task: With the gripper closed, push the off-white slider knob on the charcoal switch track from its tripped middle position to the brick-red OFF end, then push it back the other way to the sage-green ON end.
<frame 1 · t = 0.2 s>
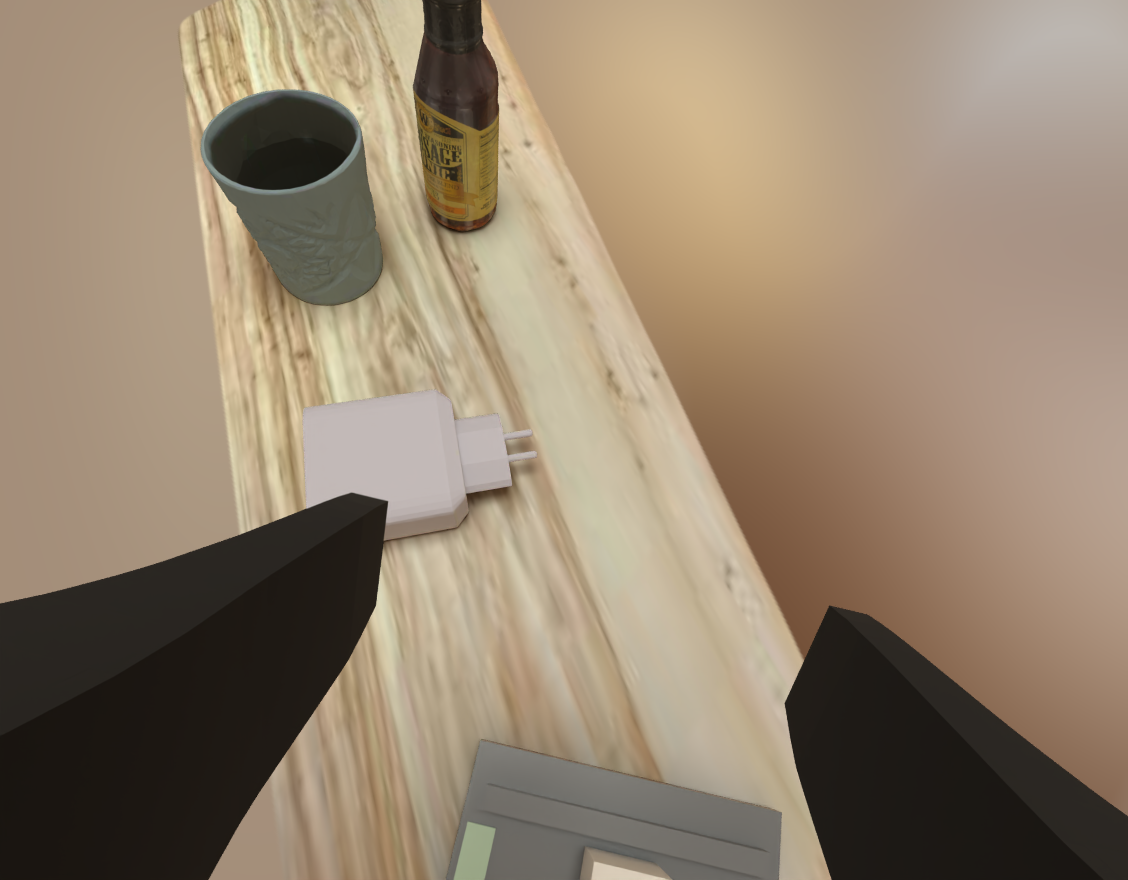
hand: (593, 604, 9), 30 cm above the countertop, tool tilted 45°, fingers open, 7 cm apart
grey cup: (331, 264, 49), on the countertop
sauce bottle: (464, 212, 53), on the countertop
charger: (432, 474, 43), on the countertop
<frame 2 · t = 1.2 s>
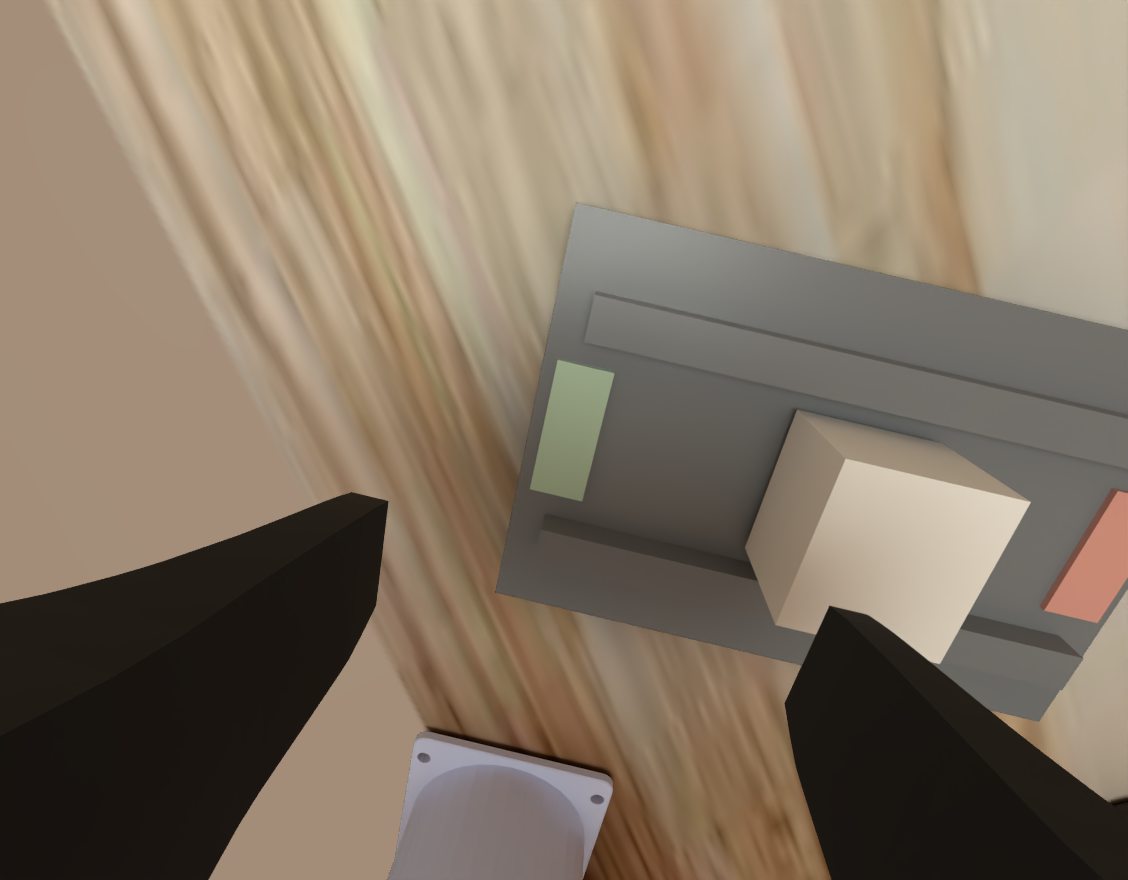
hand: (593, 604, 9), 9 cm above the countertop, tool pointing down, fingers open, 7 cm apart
slider knob: (863, 528, 15), point 4 cm above the countertop, slide at 0.0 cm
switch track: (818, 473, 18), on the countertop
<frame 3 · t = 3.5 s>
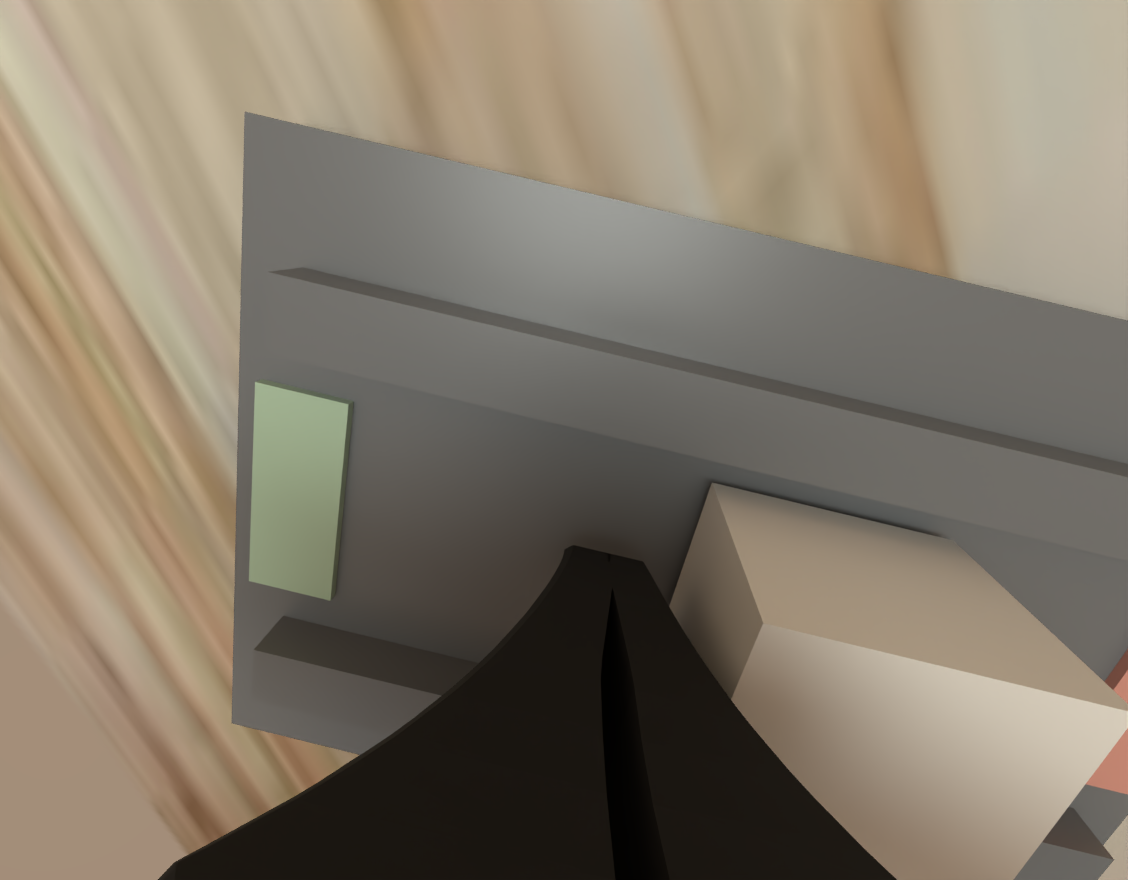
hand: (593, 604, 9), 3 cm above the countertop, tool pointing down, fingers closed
slider knob: (817, 697, 9), point 4 cm above the countertop, slide at -1.1 cm, touching gripper
switch track: (708, 551, 12), on the countertop
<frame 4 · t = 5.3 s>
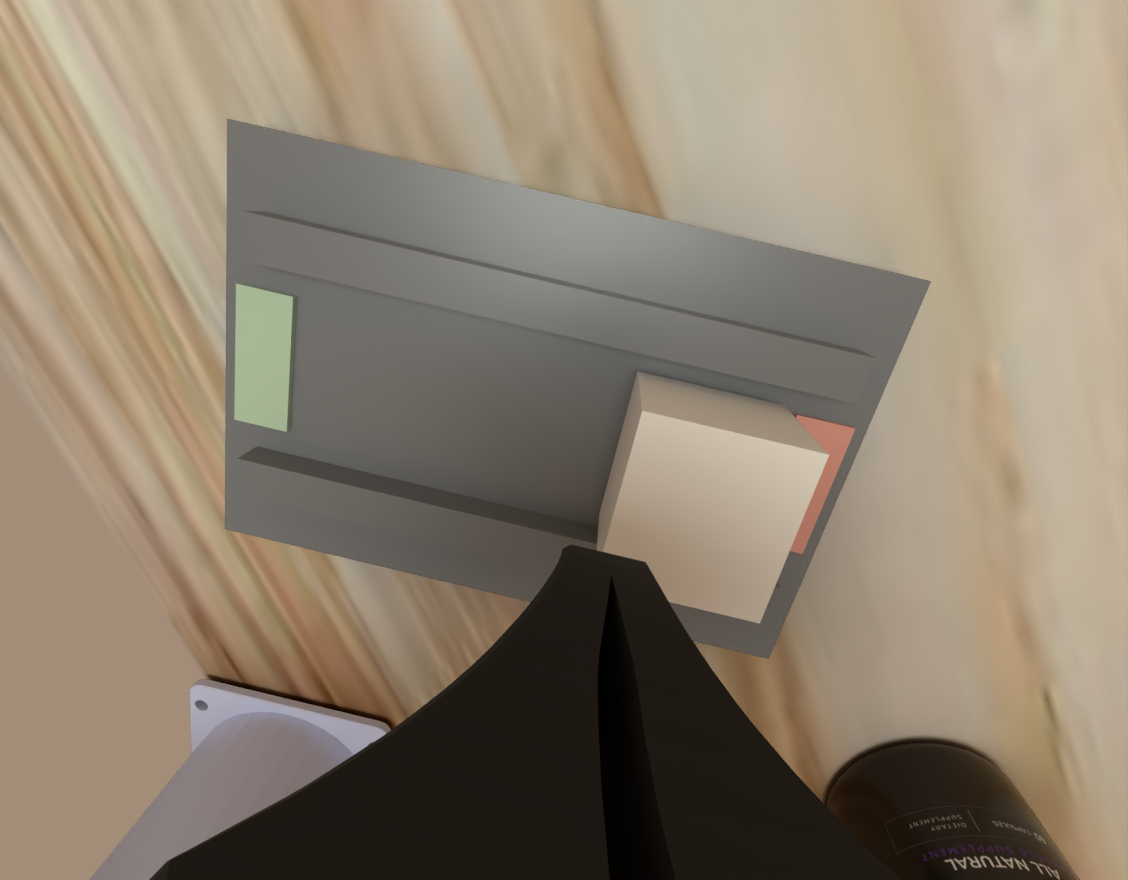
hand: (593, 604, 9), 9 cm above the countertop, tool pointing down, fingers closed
supplement bottle: (909, 798, 22), on the countertop
slider knob: (694, 489, 15), point 4 cm above the countertop, slide at -4.5 cm
switch track: (537, 406, 18), on the countertop
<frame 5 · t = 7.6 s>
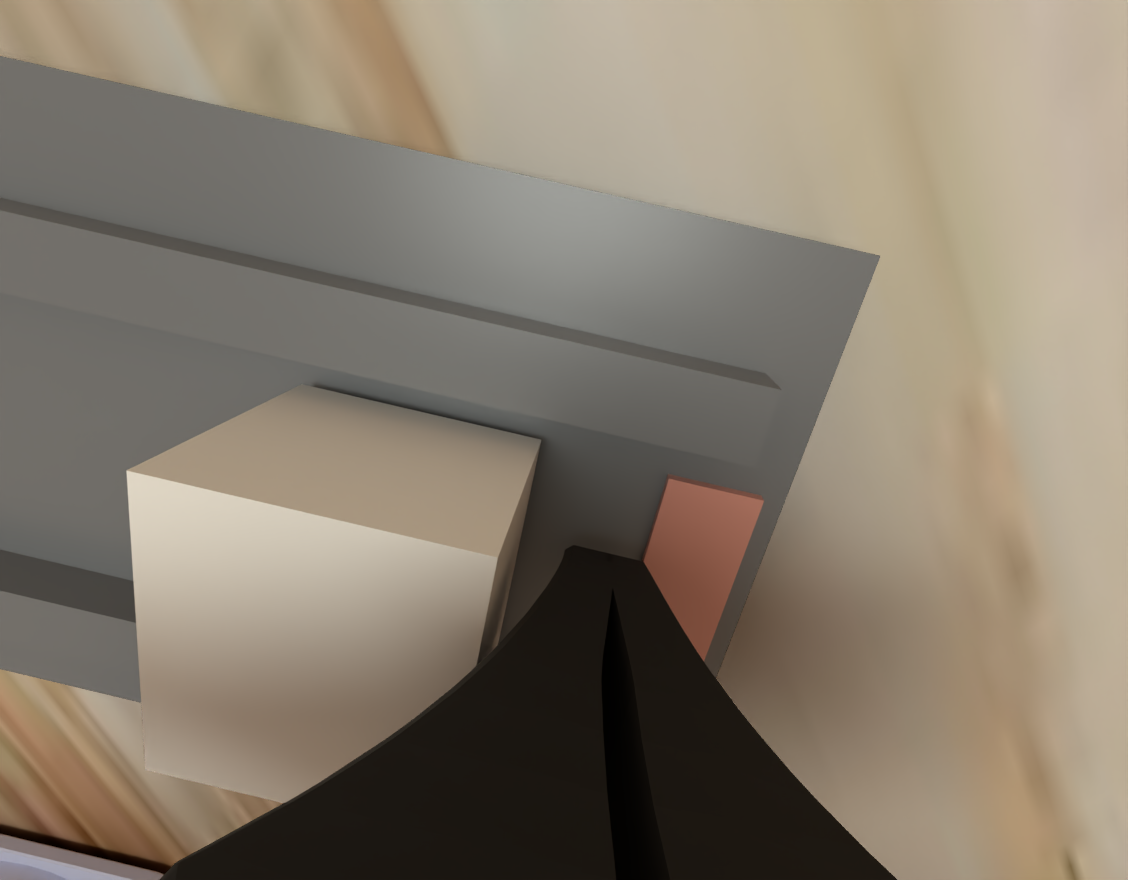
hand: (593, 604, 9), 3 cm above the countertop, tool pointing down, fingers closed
slider knob: (364, 587, 9), point 4 cm above the countertop, slide at -2.8 cm, touching gripper
switch track: (302, 454, 12), on the countertop
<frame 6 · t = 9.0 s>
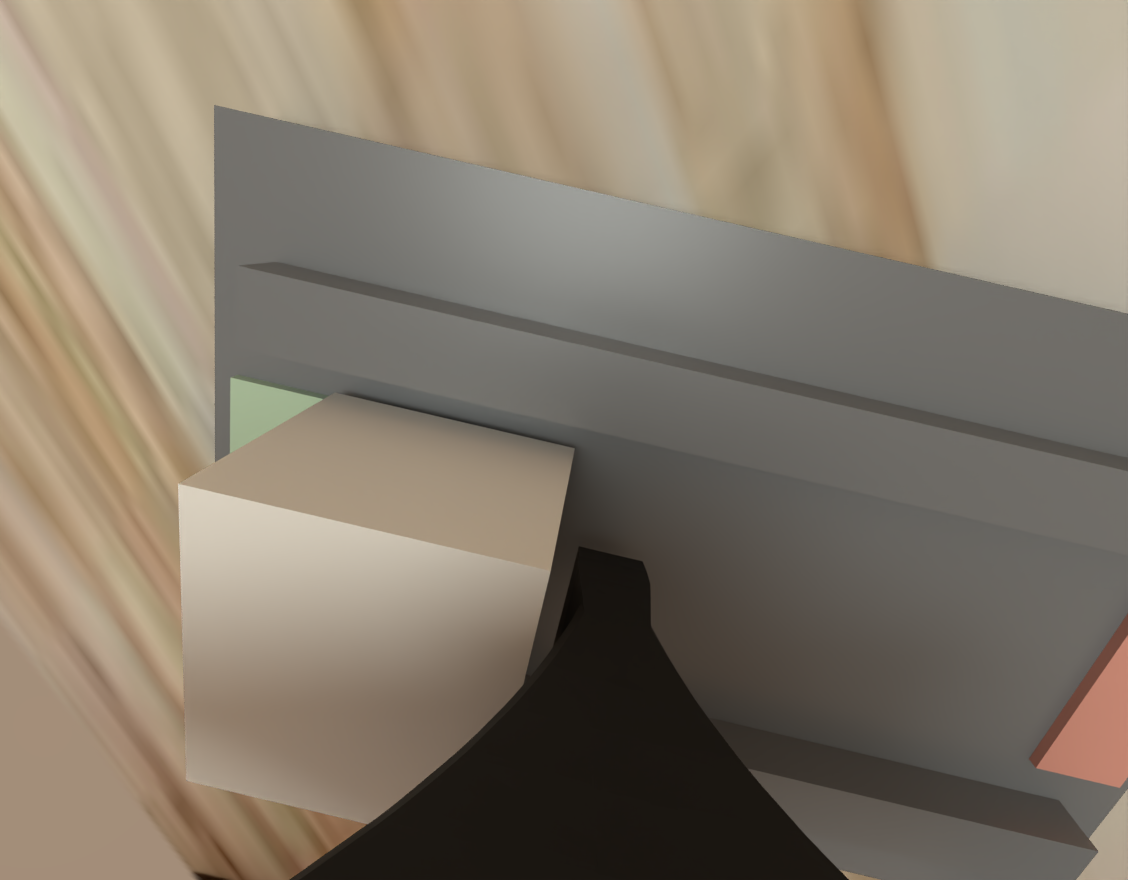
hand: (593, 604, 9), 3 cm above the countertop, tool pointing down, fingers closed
slider knob: (400, 597, 9), point 4 cm above the countertop, slide at 4.8 cm, touching gripper
switch track: (691, 545, 12), on the countertop
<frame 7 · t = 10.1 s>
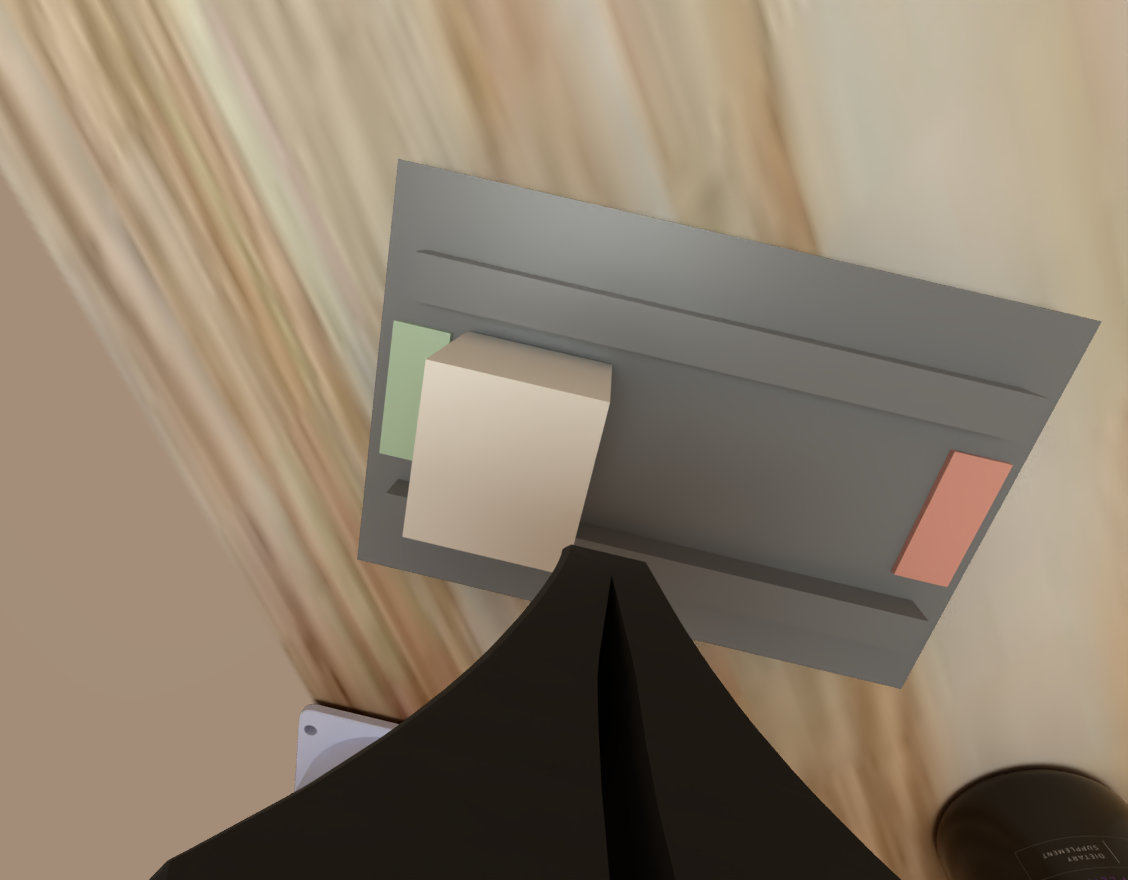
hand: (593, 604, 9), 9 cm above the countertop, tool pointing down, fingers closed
supplement bottle: (1019, 822, 22), on the countertop
slider knob: (513, 445, 15), point 4 cm above the countertop, slide at 4.5 cm
switch track: (675, 438, 18), on the countertop
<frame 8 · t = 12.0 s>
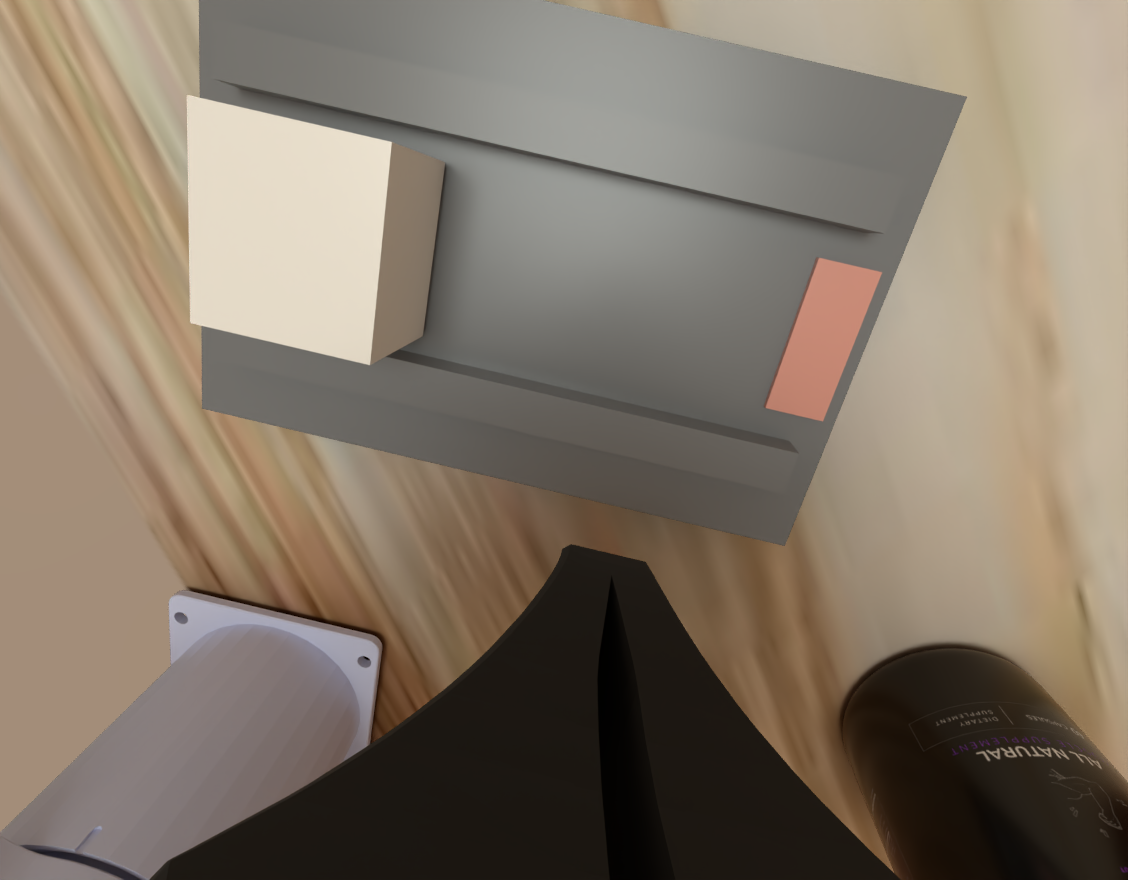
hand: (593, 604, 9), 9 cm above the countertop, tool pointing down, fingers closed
supplement bottle: (930, 713, 21), on the countertop
slider knob: (326, 237, 13), point 4 cm above the countertop, slide at 4.5 cm
switch track: (537, 270, 17), on the countertop
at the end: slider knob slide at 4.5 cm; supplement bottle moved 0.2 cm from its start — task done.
